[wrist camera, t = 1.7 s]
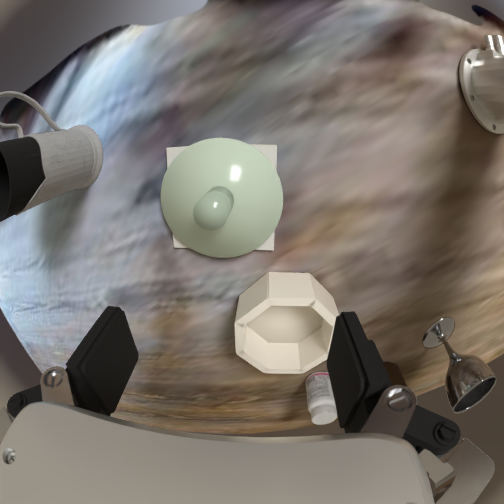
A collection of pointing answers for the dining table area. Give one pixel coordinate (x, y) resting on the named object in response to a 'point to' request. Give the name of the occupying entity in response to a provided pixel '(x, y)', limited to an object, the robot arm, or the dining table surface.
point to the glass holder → (45, 163)
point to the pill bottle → (320, 398)
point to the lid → (221, 197)
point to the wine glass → (460, 369)
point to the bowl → (285, 323)
